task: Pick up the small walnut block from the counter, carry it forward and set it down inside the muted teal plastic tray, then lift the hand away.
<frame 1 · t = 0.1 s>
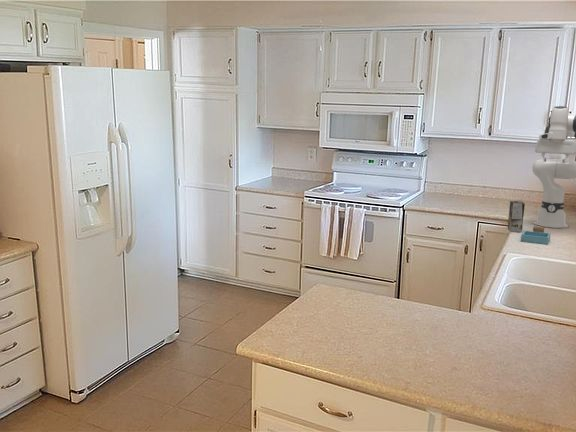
hand: (554, 162, 306), 39 cm above the worktop, tool pointing down, fingers open, 8 cm apart
tray: (535, 240, 292), on the worktop
coffee box: (514, 230, 317), on the worktop
walnut block: (538, 236, 303), on the worktop
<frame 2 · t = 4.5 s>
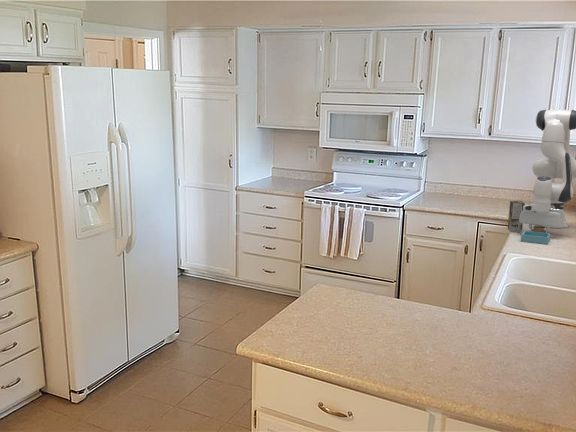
hand: (538, 233, 303), 2 cm above the worktop, tool pointing down, fingers closed on walnut block, 5 cm apart
walnut block: (538, 236, 303), on the worktop, touching gripper
everything else where it was.
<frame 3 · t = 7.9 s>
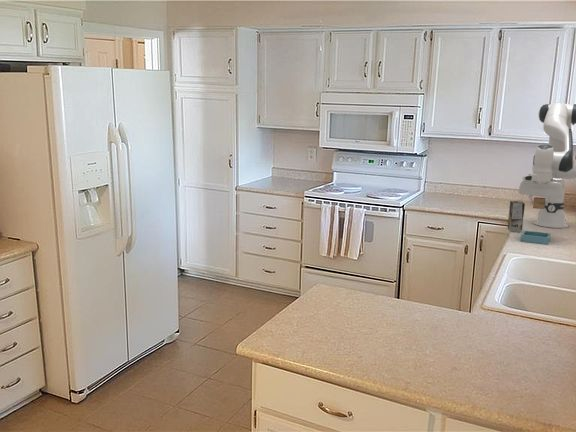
hand: (539, 204, 288), 19 cm above the worktop, tool pointing down, fingers closed on walnut block, 5 cm apart
walnut block: (538, 208, 289), point 17 cm above the worktop, touching gripper
everything else where it was.
when the fingers open (4 cm above the worktop, at t = 11.2 s): walnut block drops 2 cm, resting on tray.
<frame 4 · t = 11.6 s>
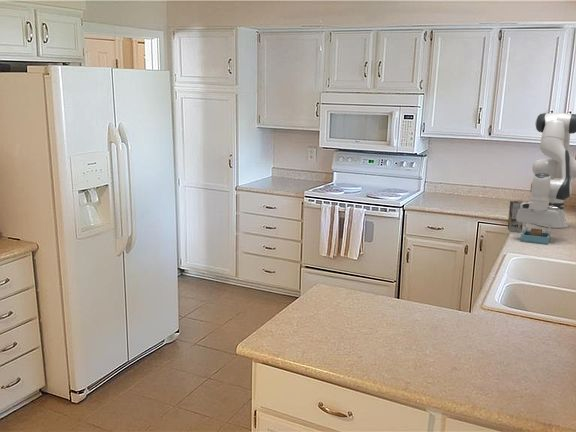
hand: (536, 232, 291), 4 cm above the worktop, tool pointing down, fingers open, 8 cm apart
walnut block: (535, 239, 292), point 1 cm above the worktop, touching tray
everything else where it was.
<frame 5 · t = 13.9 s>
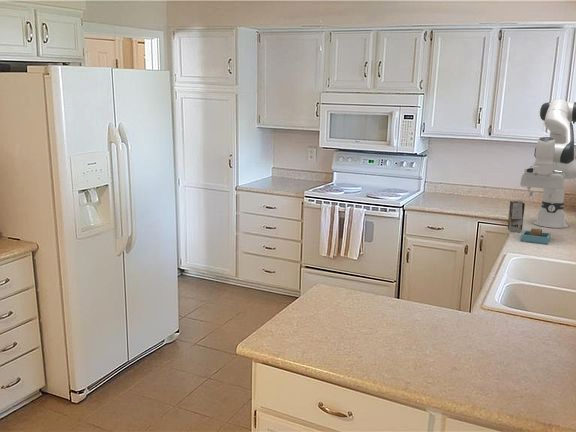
hand: (540, 196, 290), 23 cm above the worktop, tool pointing down, fingers open, 8 cm apart
nothing on the worktop moved.
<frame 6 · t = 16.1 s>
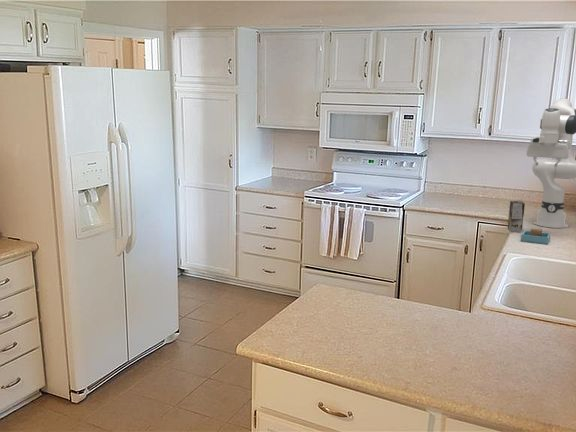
hand: (546, 166, 300), 37 cm above the worktop, tool pointing down, fingers open, 8 cm apart
nothing on the worktop moved.
at the end: walnut block inside the target area on the tray (0.0 cm from its centre), point 0.8 cm above the tray's base; the gripper is holding nothing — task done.
